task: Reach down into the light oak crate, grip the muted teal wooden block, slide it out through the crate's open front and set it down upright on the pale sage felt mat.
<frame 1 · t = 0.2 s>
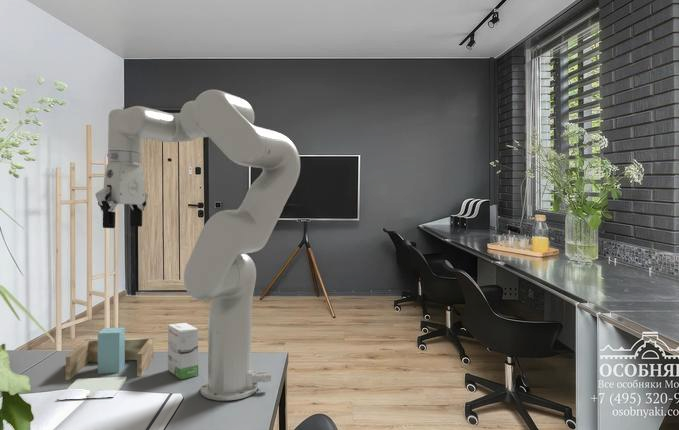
hand: (123, 227, 120), 36 cm above the table, tool pointing down, fingers open, 9 cm apart
felt mat: (94, 389, 107), on the table
crate: (112, 368, 121), on the table
ink box: (182, 373, 118), on the table
teal block: (111, 369, 120), on the table
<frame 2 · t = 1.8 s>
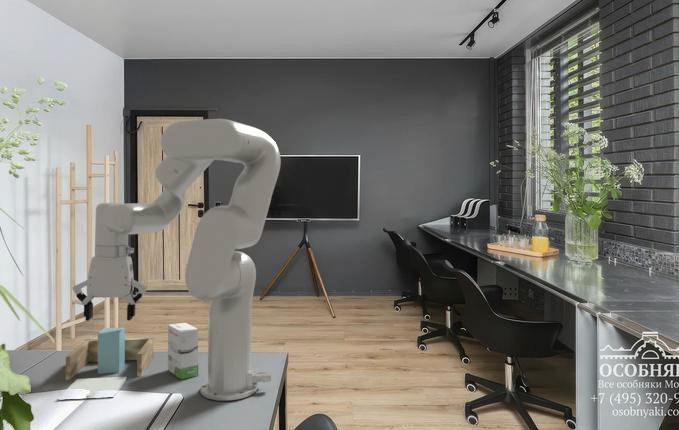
hand: (109, 319, 120), 13 cm above the table, tool pointing down, fingers open, 9 cm apart
nothing on the table moved.
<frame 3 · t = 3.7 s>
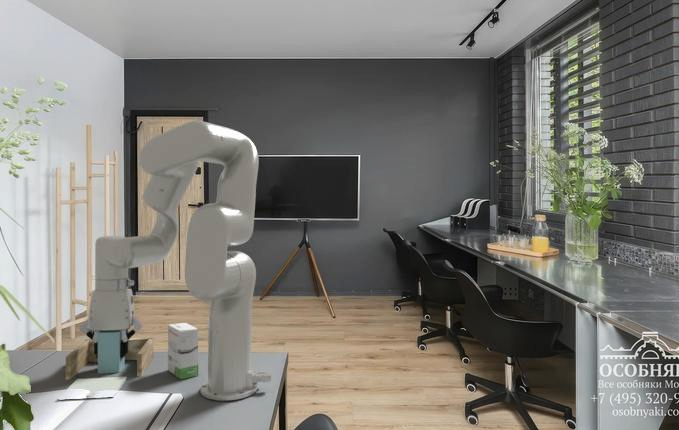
hand: (111, 355, 120), 3 cm above the table, tool pointing down, fingers closed on teal block, 5 cm apart
teal block: (111, 369, 120), on the table, touching gripper
everything else where it was.
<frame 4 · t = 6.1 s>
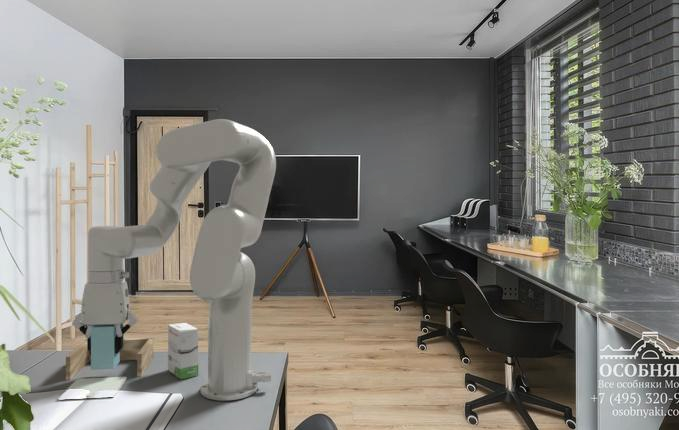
hand: (105, 351, 114), 6 cm above the table, tool pointing down, fingers closed on teal block, 5 cm apart
teal block: (105, 365, 114), point 3 cm above the table, touching gripper
everything else where it was.
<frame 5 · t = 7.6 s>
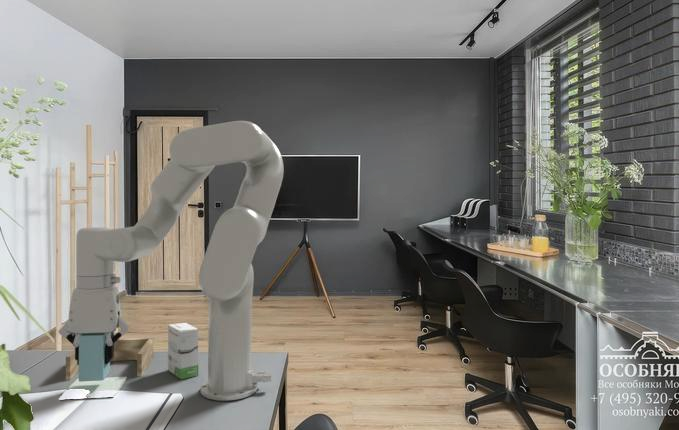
hand: (94, 361, 107), 6 cm above the table, tool pointing down, fingers closed on teal block, 5 cm apart
teal block: (94, 376, 107), point 3 cm above the table, touching gripper
everything else where it was.
when the fingers open (5 cm above the table, at t = 8.6 s): teal block drops 1 cm, resting on felt mat.
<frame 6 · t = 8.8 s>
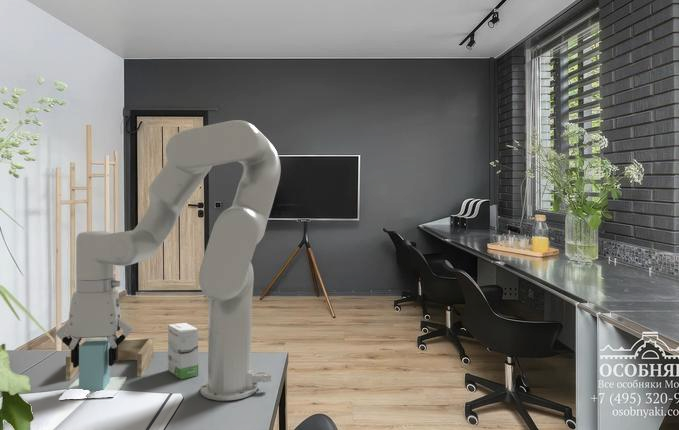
hand: (94, 364, 107), 6 cm above the table, tool pointing down, fingers open, 6 cm apart
teal block: (94, 386, 107), point 1 cm above the table, touching felt mat
everything else where it was.
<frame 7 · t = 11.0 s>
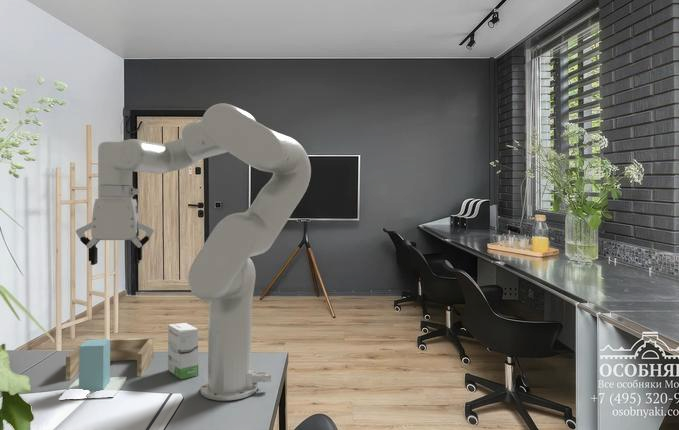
hand: (115, 263, 115), 27 cm above the table, tool pointing down, fingers open, 9 cm apart
nothing on the table moved.
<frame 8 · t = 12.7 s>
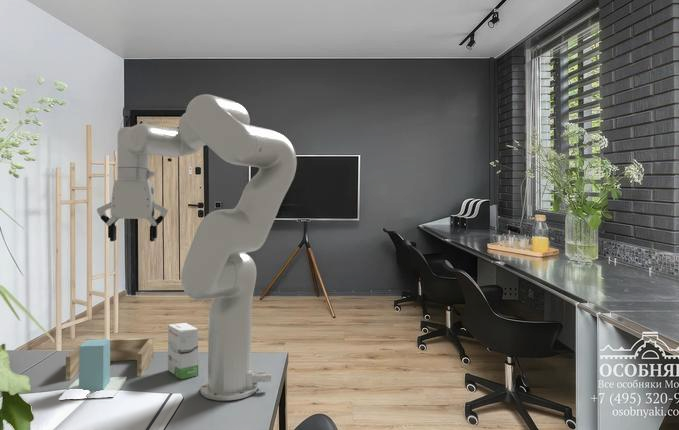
hand: (132, 240, 124), 32 cm above the table, tool pointing down, fingers open, 9 cm apart
nothing on the table moved.
at the end: teal block inside the target area on the felt mat (0.0 cm from its centre), point 0.6 cm above the felt mat's base; teal block tilted 0°; the gripper is holding nothing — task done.
